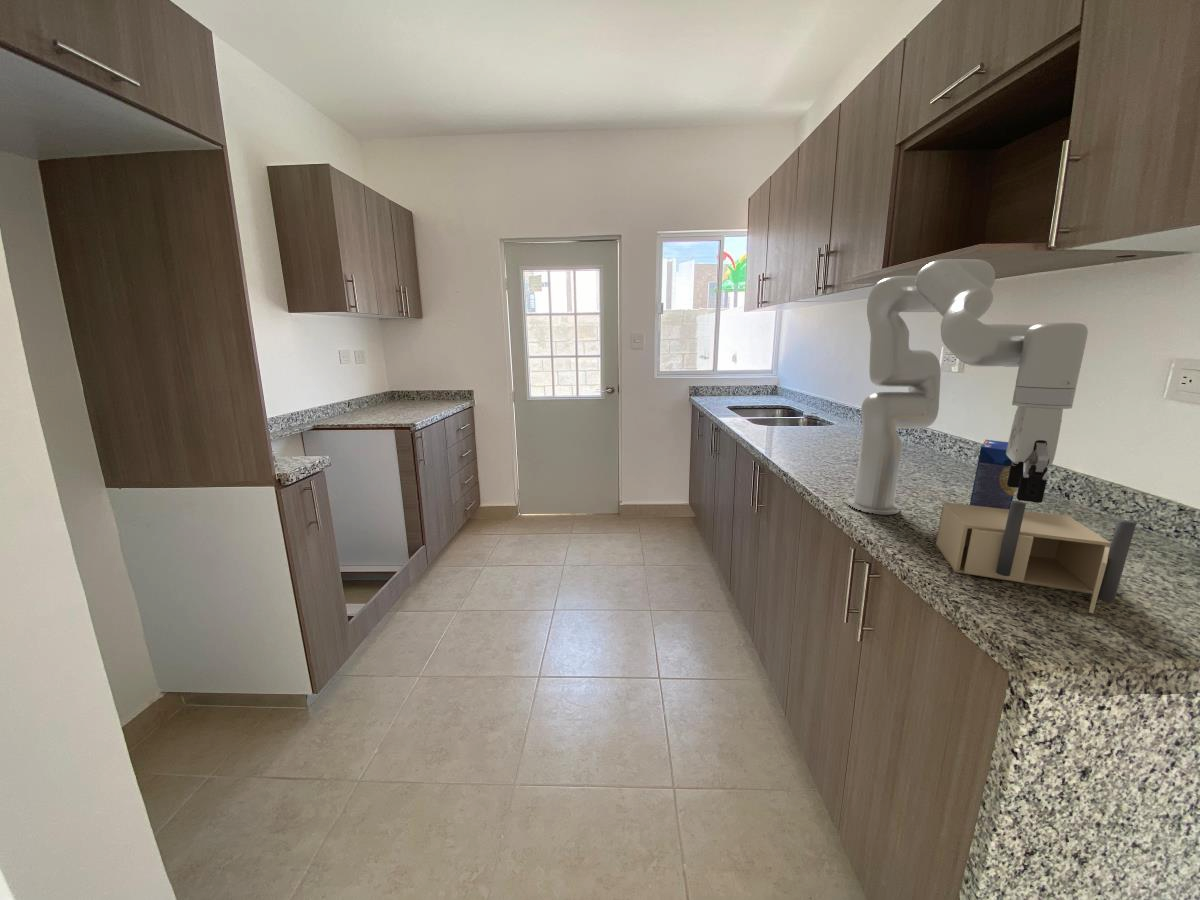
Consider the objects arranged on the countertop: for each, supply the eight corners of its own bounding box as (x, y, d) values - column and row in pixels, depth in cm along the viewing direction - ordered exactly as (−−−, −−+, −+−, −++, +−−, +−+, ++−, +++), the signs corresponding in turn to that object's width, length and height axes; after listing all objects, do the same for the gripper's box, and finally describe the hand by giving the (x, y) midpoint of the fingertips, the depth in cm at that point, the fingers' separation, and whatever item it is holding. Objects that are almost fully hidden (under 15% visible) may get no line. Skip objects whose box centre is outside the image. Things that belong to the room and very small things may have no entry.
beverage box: (1004, 534, 108) (1024, 443, 103) (1001, 549, 101) (1023, 451, 96) (968, 526, 113) (985, 439, 108) (962, 540, 105) (980, 446, 100)
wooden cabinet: (935, 544, 103) (943, 502, 101) (1056, 561, 95) (1067, 515, 93) (955, 572, 90) (964, 524, 88) (1096, 594, 83) (1110, 542, 80)
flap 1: (963, 571, 89) (978, 496, 86) (1022, 580, 86) (1040, 502, 83) (967, 577, 87) (983, 500, 84) (1028, 587, 84) (1046, 507, 80)
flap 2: (1088, 612, 76) (1112, 524, 73) (1092, 593, 82) (1114, 511, 78) (1110, 618, 74) (1136, 529, 71) (1112, 598, 80) (1136, 515, 77)
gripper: (1005, 393, 87) (989, 480, 91) (1023, 400, 73) (1003, 503, 77) (1059, 395, 83) (1040, 486, 87) (1089, 403, 69) (1065, 511, 73)
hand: (1023, 494), depth 82 cm, fingers open, 9 cm apart
